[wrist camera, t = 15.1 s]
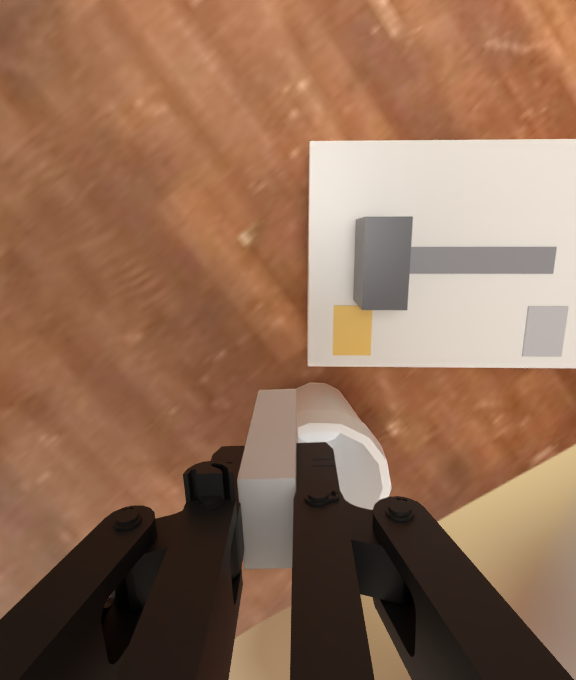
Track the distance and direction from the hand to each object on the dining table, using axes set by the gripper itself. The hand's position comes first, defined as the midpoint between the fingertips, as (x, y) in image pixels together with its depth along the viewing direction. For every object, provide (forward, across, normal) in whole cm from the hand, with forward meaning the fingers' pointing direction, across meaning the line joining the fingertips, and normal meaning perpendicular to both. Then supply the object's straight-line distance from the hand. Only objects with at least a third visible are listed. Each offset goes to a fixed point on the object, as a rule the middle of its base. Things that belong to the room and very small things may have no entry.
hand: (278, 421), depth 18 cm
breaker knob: (+18, +7, +5) cm, 20 cm away
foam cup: (+24, +2, -10) cm, 26 cm away
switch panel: (+24, +13, +5) cm, 28 cm away
